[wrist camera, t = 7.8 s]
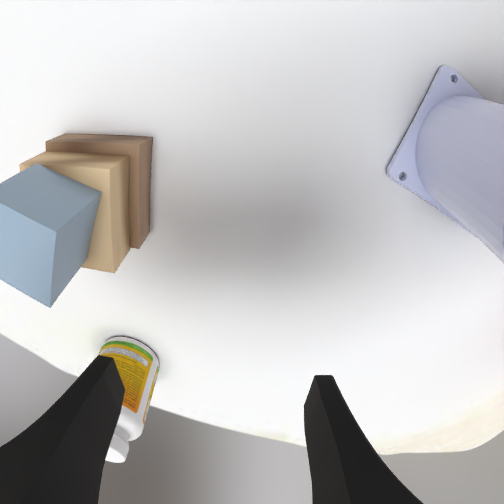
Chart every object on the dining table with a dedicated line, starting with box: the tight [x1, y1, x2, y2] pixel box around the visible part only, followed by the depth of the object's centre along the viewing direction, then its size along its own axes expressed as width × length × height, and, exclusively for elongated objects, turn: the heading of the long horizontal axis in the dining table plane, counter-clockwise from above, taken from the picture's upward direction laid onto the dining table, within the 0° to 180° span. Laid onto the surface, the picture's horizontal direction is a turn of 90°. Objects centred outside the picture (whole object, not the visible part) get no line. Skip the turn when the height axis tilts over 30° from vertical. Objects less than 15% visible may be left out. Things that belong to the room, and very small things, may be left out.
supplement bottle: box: [99, 337, 159, 463], centre depth 21 cm, size 5×5×10 cm
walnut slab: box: [46, 134, 153, 249], centre depth 17 cm, size 6×6×2 cm
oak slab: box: [20, 151, 130, 273], centre depth 15 cm, size 6×6×2 cm
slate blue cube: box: [0, 164, 102, 308], centre depth 12 cm, size 4×4×4 cm
